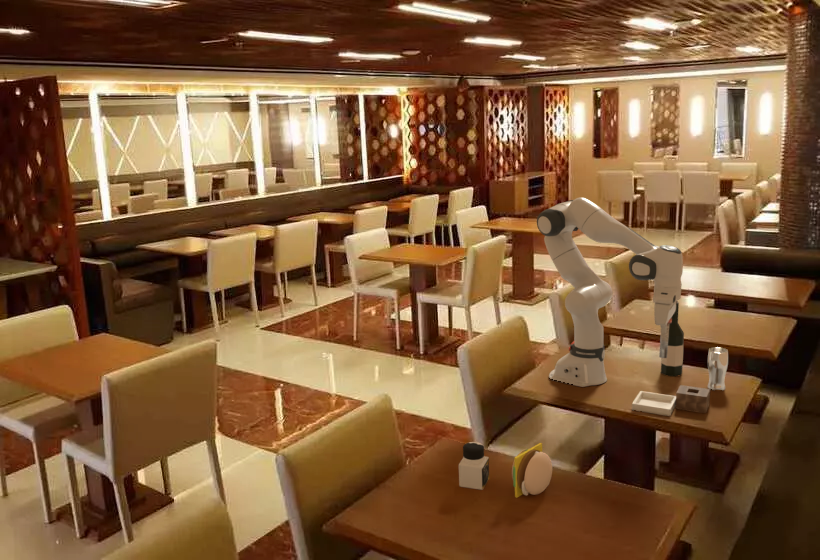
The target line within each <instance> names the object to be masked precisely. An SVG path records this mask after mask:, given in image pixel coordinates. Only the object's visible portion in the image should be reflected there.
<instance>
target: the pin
mask: <svg viewBox="0 0 820 560" xmlns="http://www.w3.org/2000/svg"><path fill="white" fill-rule="evenodd" d="M669 323H672V318H671V319H670V320H669V322H668V323H667V332H666V333H661V332H660V339H659V340H660V341H659V356H658V357H659V358H660V359H661V358H667V351H668V337H669Z"/></svg>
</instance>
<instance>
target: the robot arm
mask: <svg viewBox="0 0 820 560" xmlns="http://www.w3.org/2000/svg"><path fill="white" fill-rule="evenodd" d="M536 226H537V228H538V231H539V232H540V233H541V234H542V235H543V236H544V238H543V241H544V245H545V247H546V250H547V253H548V256H549V258H550V260H551V262H552V263H553V265H554V267H555V268H556V270H557V272H558V274H559V275H560V277H561V279H563V280H564V281H567V282H568V283H569V284H570V285H572V287H573V289H572V290H571V291H570V292H568V294H567V295H566V296H565V299H564V306H565V309H566V310H567V312H569V314H570V315H571V318H572V322H573V326H574V327H573V330H574V334H573V335H574V336H573V337H574V340H573V341H572V342H571V343H570V345H569V347H568V351H569V352H568V353H566V354H565V355H563V356H562V357H561V358H559V359H558V360H557V361H556V364H555V366H554V369H553V370H551V371H550V372H549V374H548V379H549V378H550V379H553V380H552V381H554V380H557V381H556V382H558V381H561V382H560V383H563V382H565V383H564V384H567V383H569V384H568V385H571V384H573V385H572V386H576V387H582V388H584V387H589V386H597V385H602V384H604V383H606V382H607V380H608V377H607V374H606V370H605V364H604V363H605V362H604V360H605V355H606V354H605V345H604V325H603V324H602V323H601V321H600V318H599V314H598V313H599V309H601V308H604V307H605V306H607V304H609V302H610V301H611V299H612V298H613V296H614V295H613V293H614V292H613V288H612V286H611V284H609V282H607V281H605V280H603V279H601V277H600V276H598V274H596V273H595V271H594V270H593V269H592V268H591V267H590V266H589V264H588V263H587V261H586V260H585V258H584V256H583V254H582V253H581V251H580V249H579V248H578V246H577V243H576V242H575V240H574V238H573V232H577V231H578V230H579V231H580V232H581V233H583V235H585V236H586V237H587V238H589V239H590V240H592V241H594V242H596V243H600V244H601V243H602V244H616V245H620V246H623V247H625V248H627V249H628V250H629V251H631V252H633V253H634V255H633V256H632V257H631V258H630V260H629V263H628V271H629V273H630V275H631V276H632V277H633V278H634V279H636V280H637V281H638V280H639V281H653V282H654V283H653V285H654V286H653V296H652V302H653V303H654V306H653V307H654V308H653V309H654V311H653V312H654V314H653V315H654V316H653V317H654V318H653V319H654V324H655V326H659V327H660V334H661V333H666V332H667V323H668V322H669V320H670V319H671V317H672V316H673V314H674V313H675V310H676V301H679V300H681V296H682V281H681V279H682V275H683V270H684V269H683V266H684V260H683V259H684V257H683V253H682V250H681V249H680V248H679V247H676V246H673V245H668V244H664V245H663V244H662V245H659V246H658V245H655V244H653V243H652V242H650V241H649V240H647V239H646V238H645V237H643V236H641V235H640V234H639V233H638V232H636V231H634V230H633V229H631V228H630V227H628V226H626V225H625V224H624V223H622V222H620V221H619V220H617V219H616V218H615V217H613V216H612V215H611V214H609V213H608V212H606V211H605V210H604V209H603V208H602V207H600V206H599V205H597V203H594V202H593V201H591V200H590V199H588V198H586V197H581V196H580V197H576V198H575V199H570V200H567V201H565V202H561V203H560V202H559V203H557V204H555V205H554V206H551V207H549V208H547V209H544V210H543V211H541V212H540V213H539V214H538V215H537V217H536ZM550 379H549V380H550Z"/></svg>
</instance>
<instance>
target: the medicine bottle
mask: <svg viewBox="0 0 820 560" xmlns="http://www.w3.org/2000/svg"><path fill="white" fill-rule="evenodd" d="M489 480H490V458H489V456H486V455H485V446H484V444H482V443H481V442H478V441H470V442H466V443H464V444H463V446H462V459H461V460H460V462H459V463H458V483H459V484H458V486H459V487H461V488H467V489H474V490H479V491H482V490H484V488H485V486H486V485H487V483H488V481H489Z"/></svg>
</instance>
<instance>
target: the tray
mask: <svg viewBox="0 0 820 560" xmlns="http://www.w3.org/2000/svg"><path fill="white" fill-rule="evenodd" d="M674 409H676V395H670V394H663V393H657V392H651V391H643V390H640V391H639V392H638V394H637V395H636V396H635V398H634V400H633V401H632V403H631V411H634V410H636V411H635V412H640V411H642V412H641V413H648V414H654V415H659V416H666V417H671V416H672V413H673V411H674Z"/></svg>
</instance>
